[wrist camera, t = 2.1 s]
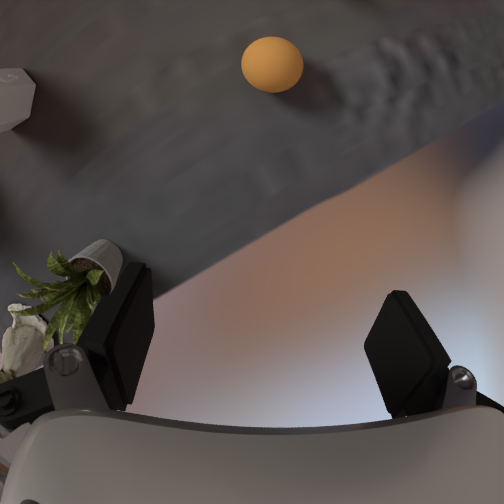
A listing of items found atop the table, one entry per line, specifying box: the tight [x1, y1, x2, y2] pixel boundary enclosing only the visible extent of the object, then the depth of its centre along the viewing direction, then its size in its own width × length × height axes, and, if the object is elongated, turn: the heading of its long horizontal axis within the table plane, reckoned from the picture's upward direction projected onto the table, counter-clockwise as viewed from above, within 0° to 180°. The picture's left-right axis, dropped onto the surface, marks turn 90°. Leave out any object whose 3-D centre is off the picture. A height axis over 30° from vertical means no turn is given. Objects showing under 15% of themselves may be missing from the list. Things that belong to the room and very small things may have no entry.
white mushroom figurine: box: [0, 304, 54, 384], centre depth 36 cm, size 12×13×18 cm
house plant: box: [9, 239, 123, 352], centre depth 30 cm, size 14×14×16 cm
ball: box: [241, 37, 303, 93], centre depth 24 cm, size 6×6×6 cm
